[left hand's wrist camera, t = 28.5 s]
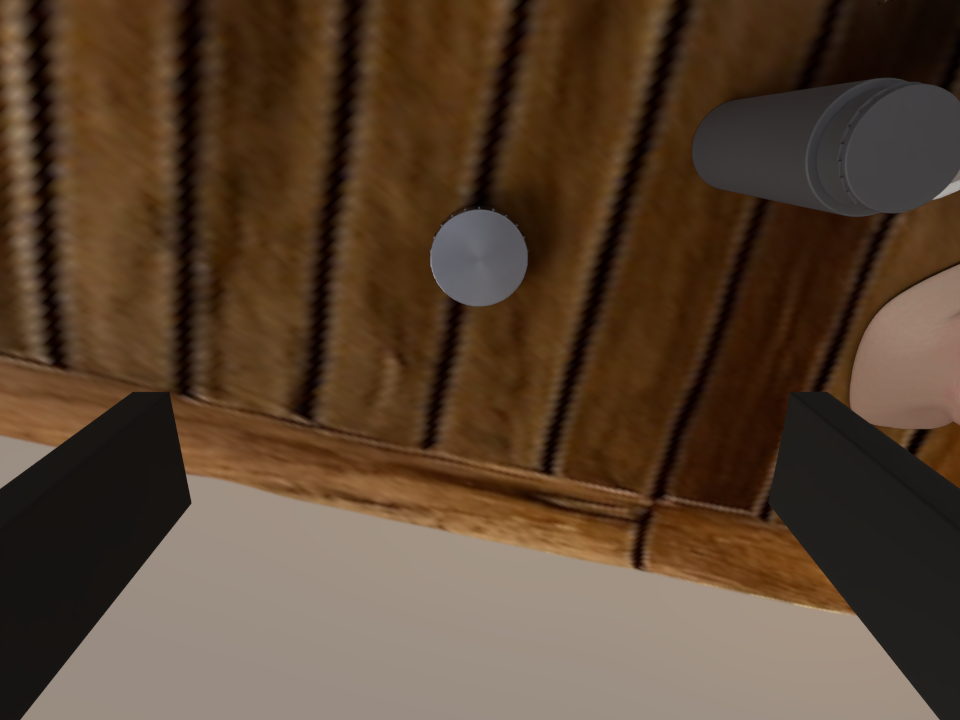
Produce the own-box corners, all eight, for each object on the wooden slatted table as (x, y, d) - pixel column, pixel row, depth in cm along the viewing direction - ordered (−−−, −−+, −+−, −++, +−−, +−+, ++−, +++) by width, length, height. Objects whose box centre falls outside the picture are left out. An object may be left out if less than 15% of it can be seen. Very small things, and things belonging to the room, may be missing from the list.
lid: (518, 304, 38) (520, 313, 36) (426, 291, 38) (423, 300, 36) (534, 211, 36) (537, 216, 34) (437, 197, 36) (435, 201, 34)
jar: (741, 79, 34) (931, 36, 20) (794, 143, 35) (1009, 147, 21) (673, 147, 35) (805, 154, 21) (727, 207, 36) (886, 252, 22)
